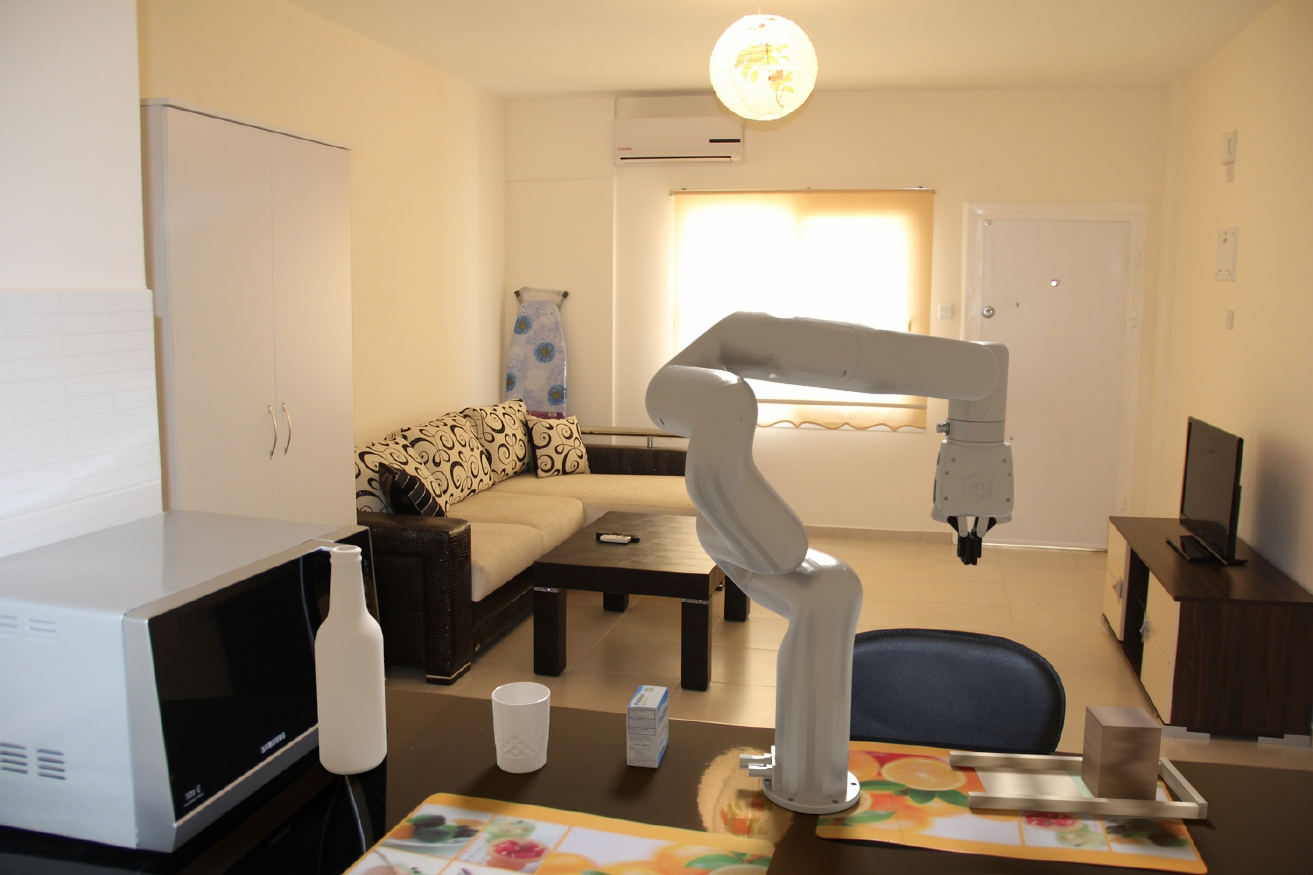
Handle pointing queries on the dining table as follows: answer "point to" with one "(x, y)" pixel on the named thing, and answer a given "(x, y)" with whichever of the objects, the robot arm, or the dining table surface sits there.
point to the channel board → (1065, 787)
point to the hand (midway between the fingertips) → (968, 562)
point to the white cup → (521, 726)
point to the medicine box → (647, 726)
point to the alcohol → (350, 673)
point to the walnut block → (1120, 753)
